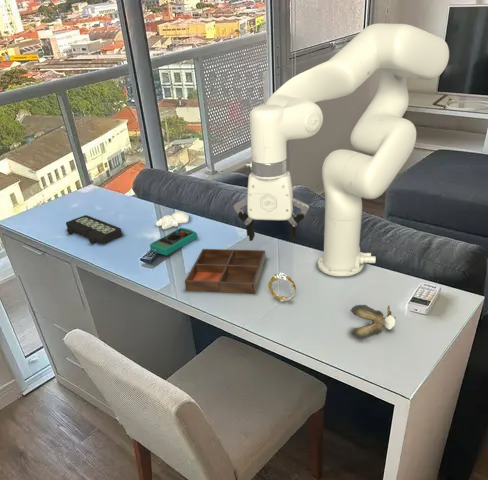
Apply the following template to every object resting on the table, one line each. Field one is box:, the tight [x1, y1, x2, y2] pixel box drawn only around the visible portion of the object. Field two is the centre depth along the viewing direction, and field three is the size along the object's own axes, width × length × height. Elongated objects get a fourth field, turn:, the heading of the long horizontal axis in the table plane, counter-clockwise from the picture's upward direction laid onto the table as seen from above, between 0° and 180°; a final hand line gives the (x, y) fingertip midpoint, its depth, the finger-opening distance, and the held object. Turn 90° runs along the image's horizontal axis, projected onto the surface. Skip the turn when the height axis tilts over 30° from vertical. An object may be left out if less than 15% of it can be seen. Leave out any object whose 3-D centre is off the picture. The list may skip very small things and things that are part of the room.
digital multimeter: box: [149, 227, 198, 257], centre depth 154 cm, size 7×15×3 cm, turn 142°
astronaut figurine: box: [155, 211, 190, 230], centre depth 168 cm, size 9×12×3 cm
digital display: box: [65, 214, 123, 245], centre depth 165 cm, size 21×3×10 cm
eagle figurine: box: [350, 304, 397, 340], centre depth 110 cm, size 8×7×9 cm
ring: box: [267, 271, 297, 302], centre depth 122 cm, size 7×3×8 cm, turn 58°
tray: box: [184, 248, 267, 295], centre depth 136 cm, size 19×19×3 cm
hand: (271, 239), depth 116 cm, fingers open, 9 cm apart
